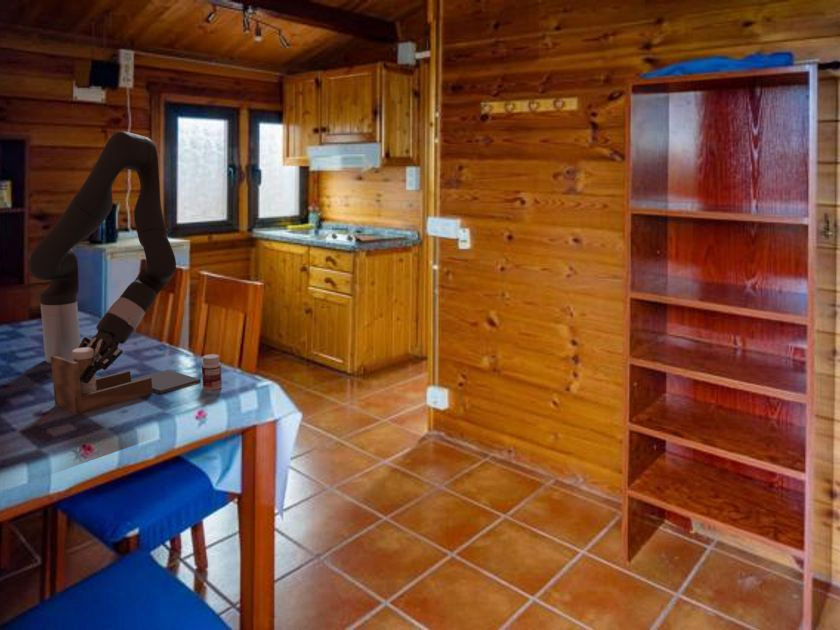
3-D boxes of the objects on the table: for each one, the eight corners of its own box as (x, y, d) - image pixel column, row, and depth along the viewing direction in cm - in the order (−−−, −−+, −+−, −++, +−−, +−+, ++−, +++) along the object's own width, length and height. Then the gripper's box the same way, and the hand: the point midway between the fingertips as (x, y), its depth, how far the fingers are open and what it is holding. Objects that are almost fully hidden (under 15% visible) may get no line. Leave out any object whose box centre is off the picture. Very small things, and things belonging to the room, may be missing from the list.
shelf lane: (55, 405, 158) (50, 356, 155) (129, 385, 173) (125, 340, 171) (78, 414, 152) (74, 363, 150) (152, 393, 168) (149, 346, 165)
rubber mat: (128, 383, 175) (127, 380, 175) (167, 372, 185) (167, 369, 185) (160, 393, 167) (160, 390, 167) (200, 382, 177) (200, 379, 177)
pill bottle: (205, 384, 175) (203, 353, 173) (223, 384, 176) (222, 353, 174) (200, 390, 171) (199, 358, 169) (219, 390, 171) (218, 358, 169)
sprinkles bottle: (80, 401, 161) (75, 347, 158) (100, 400, 162) (95, 346, 159) (74, 407, 157) (69, 352, 154) (95, 406, 157) (90, 351, 155)
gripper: (93, 307, 165) (48, 365, 157) (127, 315, 157) (81, 377, 150) (115, 324, 170) (72, 381, 163) (149, 333, 162) (106, 393, 155)
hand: (77, 379), depth 156 cm, fingers closed on sprinkles bottle, 4 cm apart
